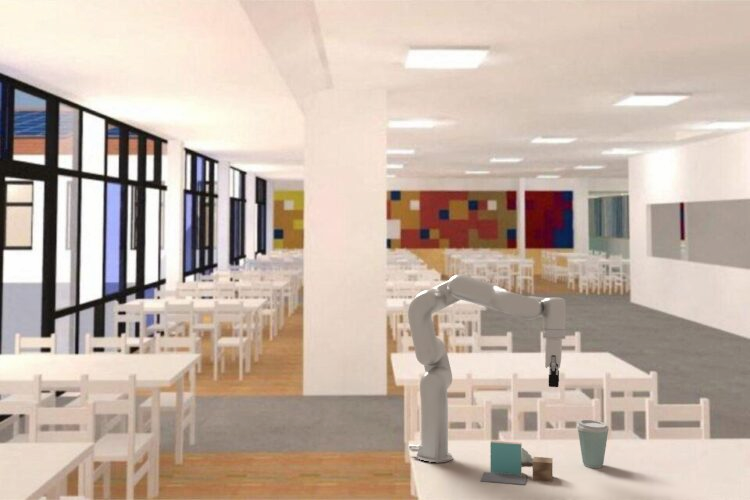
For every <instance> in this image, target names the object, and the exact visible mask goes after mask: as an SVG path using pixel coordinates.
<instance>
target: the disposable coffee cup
mask: <svg viewBox="0 0 750 500" xmlns="http://www.w3.org/2000/svg"><path fill="white" fill-rule="evenodd" d="M576 429H577V432H578V433H577V434H578V440H579V445H580V452H581V460H582V463H583V465H584V466H585V467H586V468H591V469H599V468H602V467H603V465H604V461H605V454H606V448H607V442H608V435H609V431H610V430H609V426H608V425H607V423H606V422H605V423H604V422H602V421H598V420H594V419H585V418H584V419H583V418H582V419H579V420H578V423H577V424H576Z"/></svg>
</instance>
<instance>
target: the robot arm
mask: <svg viewBox="0 0 750 500" xmlns="http://www.w3.org/2000/svg"><path fill="white" fill-rule="evenodd" d="M459 301H463V302H464V301H465V302H468V303H472V304H475V305H478V306H482V307H484V308H488V309H491V310H493V311H498V312H501V313H504V314H506V315H507V314H508V315H511V316H514V317H517V318H521V319H523V320H530V321H533V320H535V319H537V318H542V339H545V344H544V345H545V348H544V350H545V351H544V352H545V355H544V358H545V359H544V360H545V362H544V365H545V368H546V369H548V367H549V369H548V371H549V374H548V387H550V388H558V387H559V386H560V385H559V384H560V370H559V369H560V368H561V364H562V363H561V362H562V354H563V353H562V351H563V350H562V347H563V345H562V343H563V340H565V339H566V321H567V319H566V316H567V315H566V314H567V313H566V299H564V298H562V297H558V296H557V297H553V296H552V297H550V296H549V297H541V296H534V295H528V296H526V295H523V294H519V293H516V292H512V291H509V290H507V289H505V288H503V287H501V286H500V285H498V284H496V283H493V282H488V281H484V280H481V279H478V278H474V277H471V276H470V275H468V274H465V273H459V274H455V275H453V276H451V277H450V278H449V280H447V281H445V282H443V283H441V284H439V285H436V286H434V287H432V288H428V289H424V290H422V291H421V292H419V293H418V294H416V295H415V297H414V298H413V299H412V300H411V302H410V303H409V306H408V309H407V310H408V311H407V317H408V319H407V320H408V325H409V328H410V333H411V338H412V339H411V340H412V344H413V346H414V353H415V357H416V360H417V361H418V363H419V364H420V365H422V366H423V367H424V371H425V372H424V373H423V374H422V376H421V379H420V382H419V392H420V393H419V394H420V395H419V396H420V415H421V416H420V417H421V418H420V441H421V442H420V444H416V445H415V444H409V448H408V449H409V451H411V452H417V454H416V458H418V459H417V460H419V459H420V460H419V461H421V460H424V461H429V462H428V463H431V462H436V463H435V464H437V463H438V464H439V463H446V462H449V461H452V460H453V454H452V453H450V452H449V404H448V403H449V401H448V400H449V399H448V389H449V388H450V387H451V385H452V381H453V373H452V369H451V365H450V364H451V363H450V360H449V355H448V352H447V351H448V350H447V348H446V346H445V343H444V342H443V340H441V339H440V338H439V337H437V334H436V331H435V330H436V329H435V325H434V321H433V318H432V316H433V314H434V313H436V312H440V311H441V310H444V309H445V308H447V307H449V306H452V305H453V304H455V303H457V302H459ZM424 461H423V462H424Z"/></svg>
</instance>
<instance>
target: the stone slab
mask: <svg viewBox="0 0 750 500" xmlns="http://www.w3.org/2000/svg"><path fill="white" fill-rule="evenodd" d="M524 466H525V467H527V466H528V467H533V458H532V455H530V454H529V452H528V451H527V450H526V449H524V448H523V447H522V467H524Z"/></svg>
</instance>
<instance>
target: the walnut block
mask: <svg viewBox="0 0 750 500" xmlns="http://www.w3.org/2000/svg"><path fill="white" fill-rule="evenodd" d="M532 459H533V466H532V481H538V482H540V481H541V482H548V483H552V482H553V457H542V456H541V457H539V456H533V458H532Z"/></svg>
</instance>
